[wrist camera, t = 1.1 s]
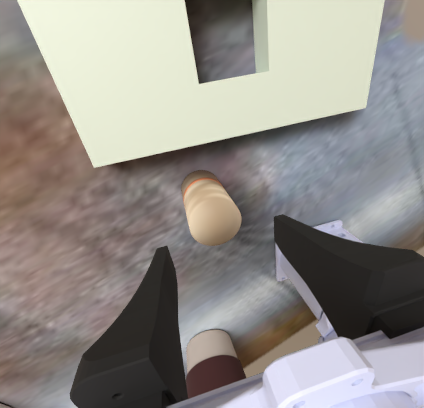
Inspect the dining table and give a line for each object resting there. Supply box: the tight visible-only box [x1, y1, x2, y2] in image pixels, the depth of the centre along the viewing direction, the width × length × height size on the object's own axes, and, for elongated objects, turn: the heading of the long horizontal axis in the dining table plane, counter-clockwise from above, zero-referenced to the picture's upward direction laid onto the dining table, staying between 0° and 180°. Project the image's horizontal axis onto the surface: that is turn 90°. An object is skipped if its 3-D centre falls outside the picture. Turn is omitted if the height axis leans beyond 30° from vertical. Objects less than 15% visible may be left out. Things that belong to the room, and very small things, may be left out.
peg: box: [181, 170, 241, 246], centre depth 19 cm, size 4×4×7 cm
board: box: [17, 0, 385, 168], centre depth 15 cm, size 24×14×2 cm, turn 99°
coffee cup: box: [186, 330, 246, 399], centre depth 28 cm, size 10×10×15 cm
